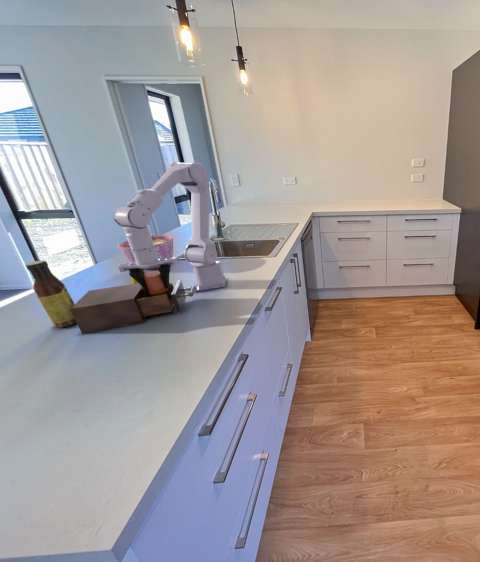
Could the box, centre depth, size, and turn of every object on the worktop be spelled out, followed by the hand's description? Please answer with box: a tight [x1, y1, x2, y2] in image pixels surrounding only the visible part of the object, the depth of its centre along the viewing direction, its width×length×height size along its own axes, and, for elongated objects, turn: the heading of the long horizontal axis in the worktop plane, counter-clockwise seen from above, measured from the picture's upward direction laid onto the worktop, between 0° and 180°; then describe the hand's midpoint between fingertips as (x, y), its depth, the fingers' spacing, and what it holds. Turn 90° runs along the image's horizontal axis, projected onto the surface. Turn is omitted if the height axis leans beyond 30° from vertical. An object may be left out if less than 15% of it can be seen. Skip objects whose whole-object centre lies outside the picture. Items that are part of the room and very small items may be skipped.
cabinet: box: [70, 283, 147, 335], centre depth 92 cm, size 15×13×8 cm
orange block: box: [143, 270, 168, 295], centre depth 94 cm, size 5×5×6 cm
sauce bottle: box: [25, 259, 77, 329], centre depth 87 cm, size 6×6×20 cm
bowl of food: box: [117, 234, 174, 270], centre depth 133 cm, size 20×20×12 cm
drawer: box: [136, 279, 197, 317], centre depth 97 cm, size 18×12×6 cm, turn 113°
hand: (157, 288), depth 95 cm, fingers closed on orange block, 5 cm apart
